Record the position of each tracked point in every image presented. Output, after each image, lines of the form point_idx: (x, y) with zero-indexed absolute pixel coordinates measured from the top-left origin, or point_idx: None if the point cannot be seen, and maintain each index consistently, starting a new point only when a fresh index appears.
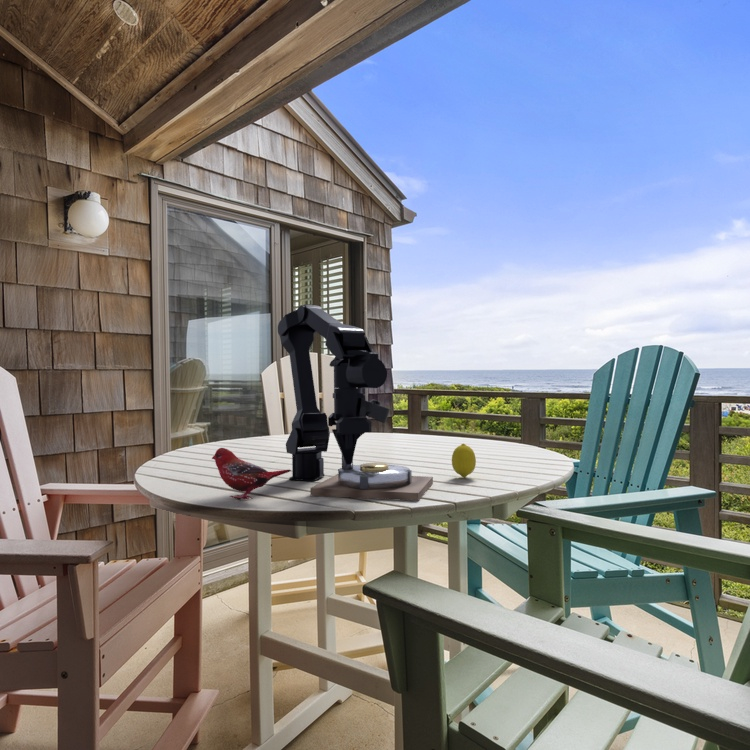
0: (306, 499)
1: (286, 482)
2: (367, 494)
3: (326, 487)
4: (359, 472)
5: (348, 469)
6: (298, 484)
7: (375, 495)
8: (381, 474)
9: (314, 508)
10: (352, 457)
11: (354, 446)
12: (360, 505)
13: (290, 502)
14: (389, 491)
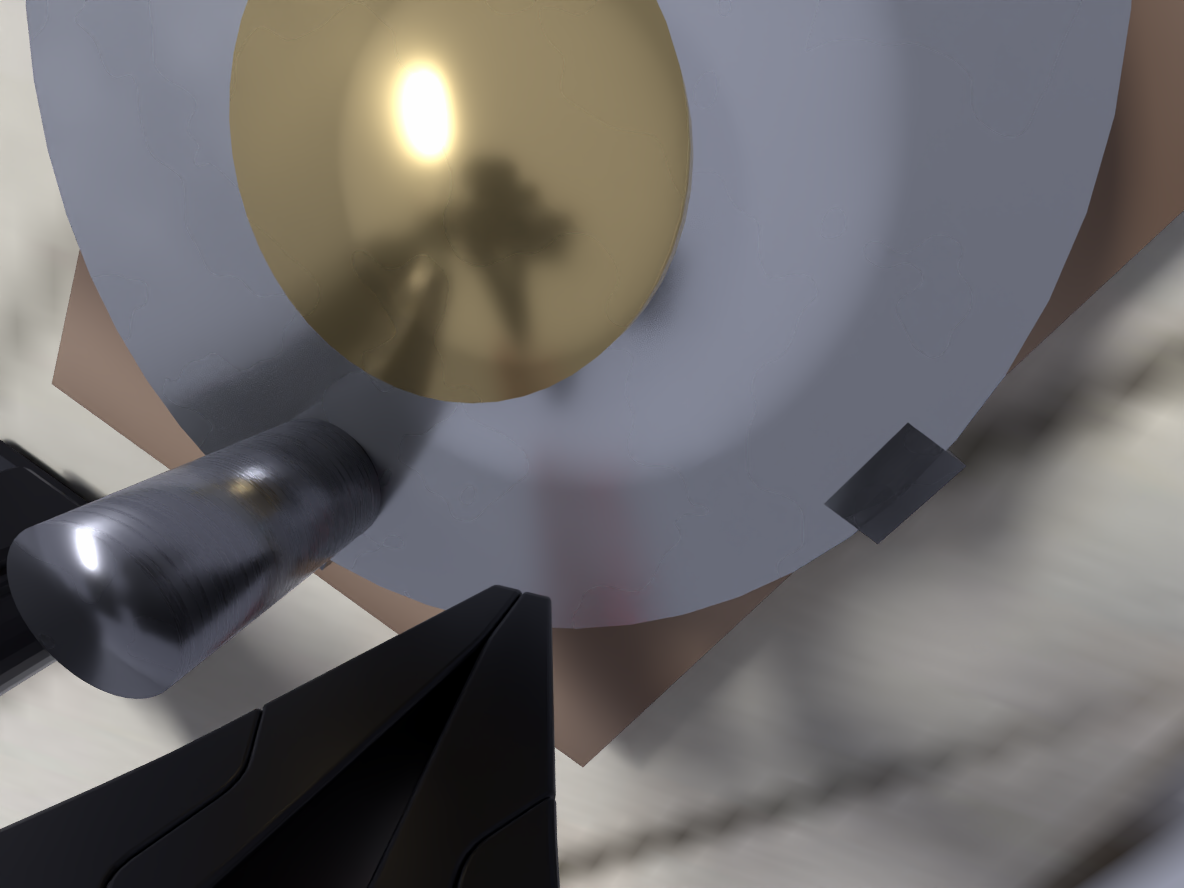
0: (695, 776)
1: (171, 693)
2: None
3: (611, 676)
4: (606, 447)
5: (379, 493)
6: (237, 659)
7: None
8: (927, 205)
9: (995, 836)
10: (548, 662)
11: (553, 879)
12: (1149, 557)
13: (733, 866)
14: (1181, 201)
